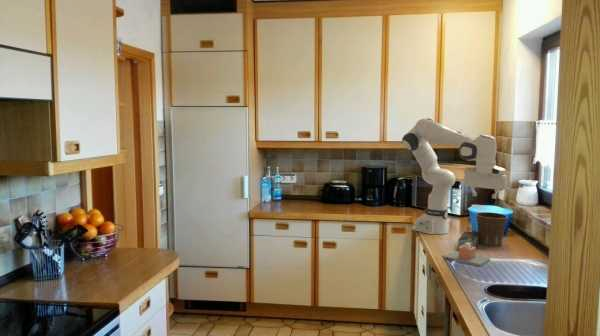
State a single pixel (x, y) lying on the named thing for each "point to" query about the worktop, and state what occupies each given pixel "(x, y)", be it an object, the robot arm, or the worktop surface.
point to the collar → (467, 252)
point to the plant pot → (491, 228)
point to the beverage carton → (468, 239)
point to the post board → (475, 261)
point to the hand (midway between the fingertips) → (484, 197)
